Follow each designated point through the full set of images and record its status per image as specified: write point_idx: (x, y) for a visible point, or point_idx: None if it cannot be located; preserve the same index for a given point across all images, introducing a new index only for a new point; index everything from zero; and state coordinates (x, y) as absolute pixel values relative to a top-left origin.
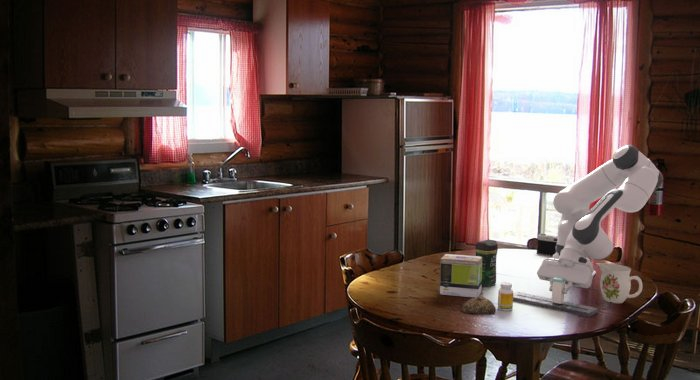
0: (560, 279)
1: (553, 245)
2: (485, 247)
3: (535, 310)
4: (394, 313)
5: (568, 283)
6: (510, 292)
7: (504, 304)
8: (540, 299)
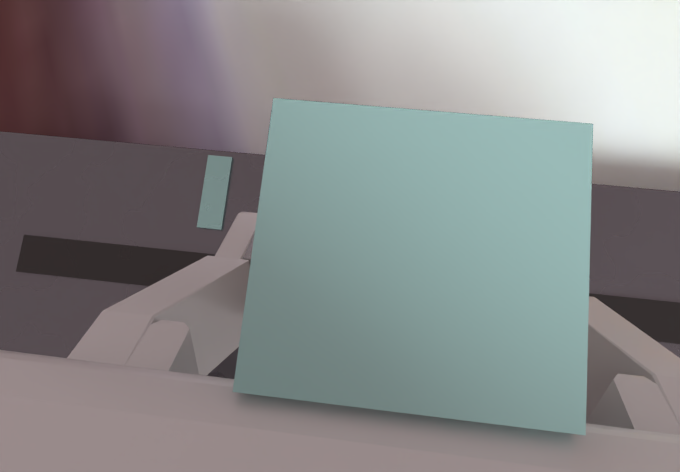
0: (337, 163)
1: None
2: None
3: (518, 45)
4: None
5: (167, 339)
6: None
7: None
8: (611, 307)
